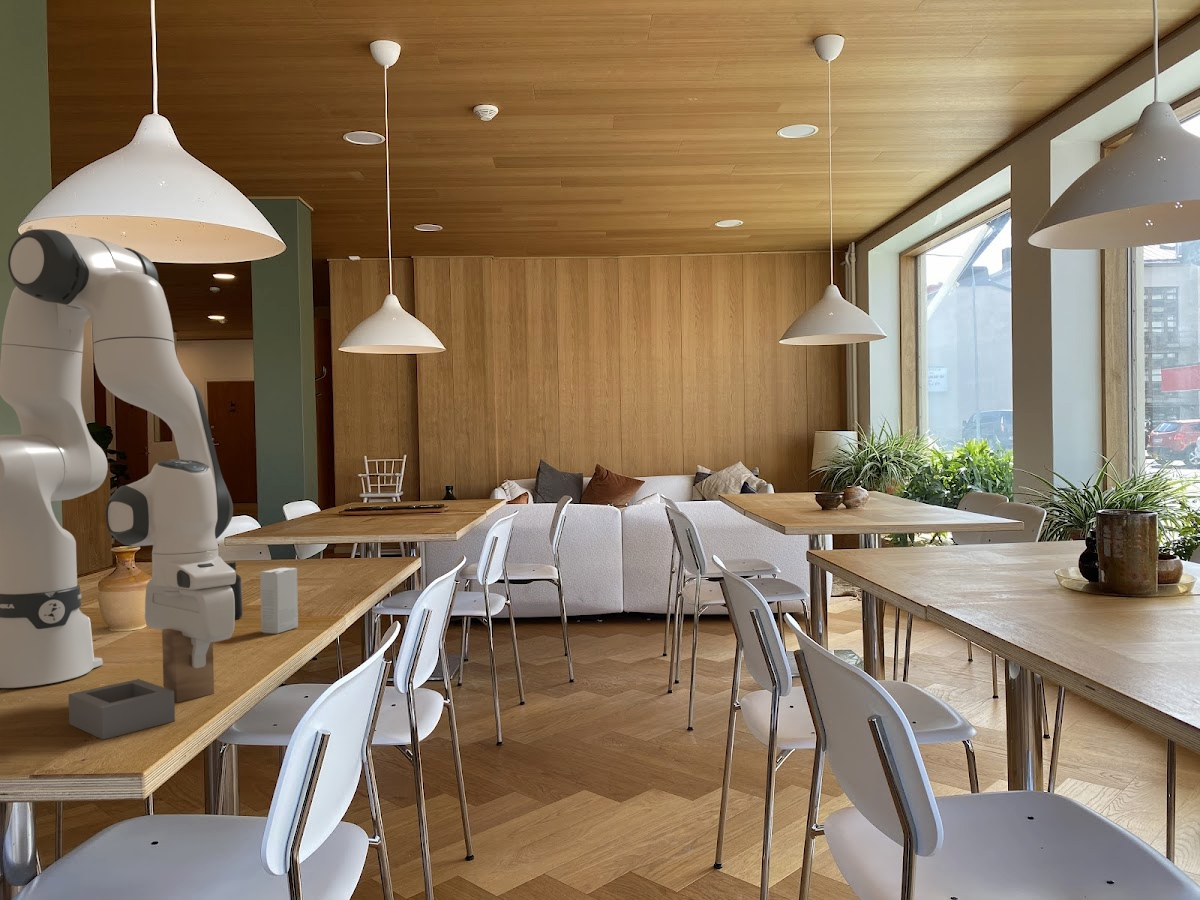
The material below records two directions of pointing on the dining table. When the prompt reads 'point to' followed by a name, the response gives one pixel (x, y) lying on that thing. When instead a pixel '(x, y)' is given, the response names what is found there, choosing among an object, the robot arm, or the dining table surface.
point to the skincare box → (279, 600)
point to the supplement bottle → (236, 591)
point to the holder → (121, 708)
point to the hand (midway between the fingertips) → (188, 664)
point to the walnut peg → (185, 668)
